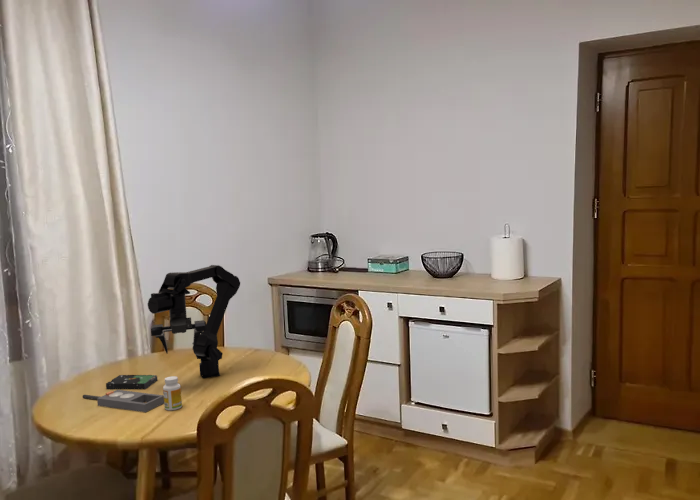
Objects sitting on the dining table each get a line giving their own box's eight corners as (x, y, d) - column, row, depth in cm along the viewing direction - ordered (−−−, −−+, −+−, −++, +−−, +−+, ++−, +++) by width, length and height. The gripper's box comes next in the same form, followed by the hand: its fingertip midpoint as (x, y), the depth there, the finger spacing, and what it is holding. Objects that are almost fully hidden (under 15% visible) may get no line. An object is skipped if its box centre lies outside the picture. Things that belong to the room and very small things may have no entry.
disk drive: (105, 391, 224) (146, 390, 222) (105, 383, 224) (145, 382, 222) (119, 382, 234) (158, 381, 232) (119, 374, 234) (157, 373, 232)
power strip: (164, 402, 207) (164, 393, 207) (145, 412, 199) (144, 402, 198) (93, 393, 220) (92, 384, 219) (72, 402, 212) (71, 393, 211)
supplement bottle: (184, 404, 205) (182, 375, 204) (179, 410, 199) (176, 380, 198) (167, 405, 205) (165, 375, 204) (162, 411, 199) (159, 380, 198)
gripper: (148, 315, 212) (152, 360, 214) (205, 310, 217) (208, 354, 219) (150, 309, 223) (153, 352, 225) (204, 304, 228) (207, 347, 230)
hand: (180, 351), depth 224 cm, fingers open, 9 cm apart
